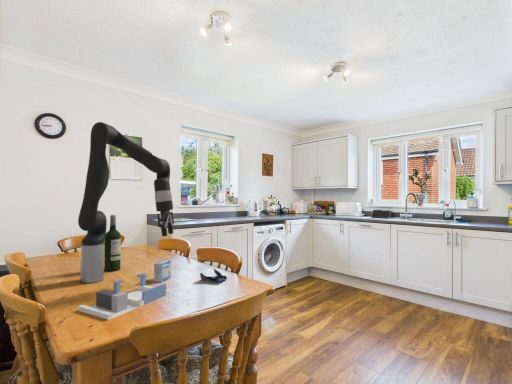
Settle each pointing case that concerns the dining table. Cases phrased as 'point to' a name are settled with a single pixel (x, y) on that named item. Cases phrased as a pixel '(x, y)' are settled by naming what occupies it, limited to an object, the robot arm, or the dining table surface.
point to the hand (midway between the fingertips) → (167, 234)
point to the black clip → (214, 277)
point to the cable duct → (129, 299)
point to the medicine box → (162, 271)
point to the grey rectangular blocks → (112, 300)
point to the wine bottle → (112, 247)
